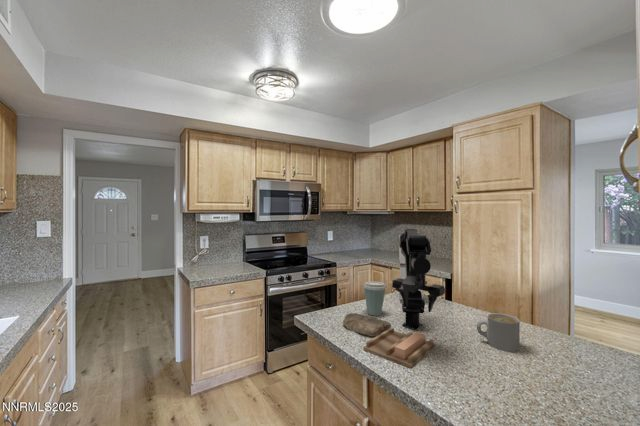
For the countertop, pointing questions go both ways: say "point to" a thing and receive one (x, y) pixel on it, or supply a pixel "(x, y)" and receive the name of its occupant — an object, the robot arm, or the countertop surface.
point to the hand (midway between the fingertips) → (417, 309)
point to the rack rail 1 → (379, 337)
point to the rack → (388, 341)
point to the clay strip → (409, 345)
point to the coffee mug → (501, 331)
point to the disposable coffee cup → (374, 297)
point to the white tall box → (403, 269)
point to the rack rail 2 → (420, 351)
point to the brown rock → (365, 324)
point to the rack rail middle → (392, 348)
